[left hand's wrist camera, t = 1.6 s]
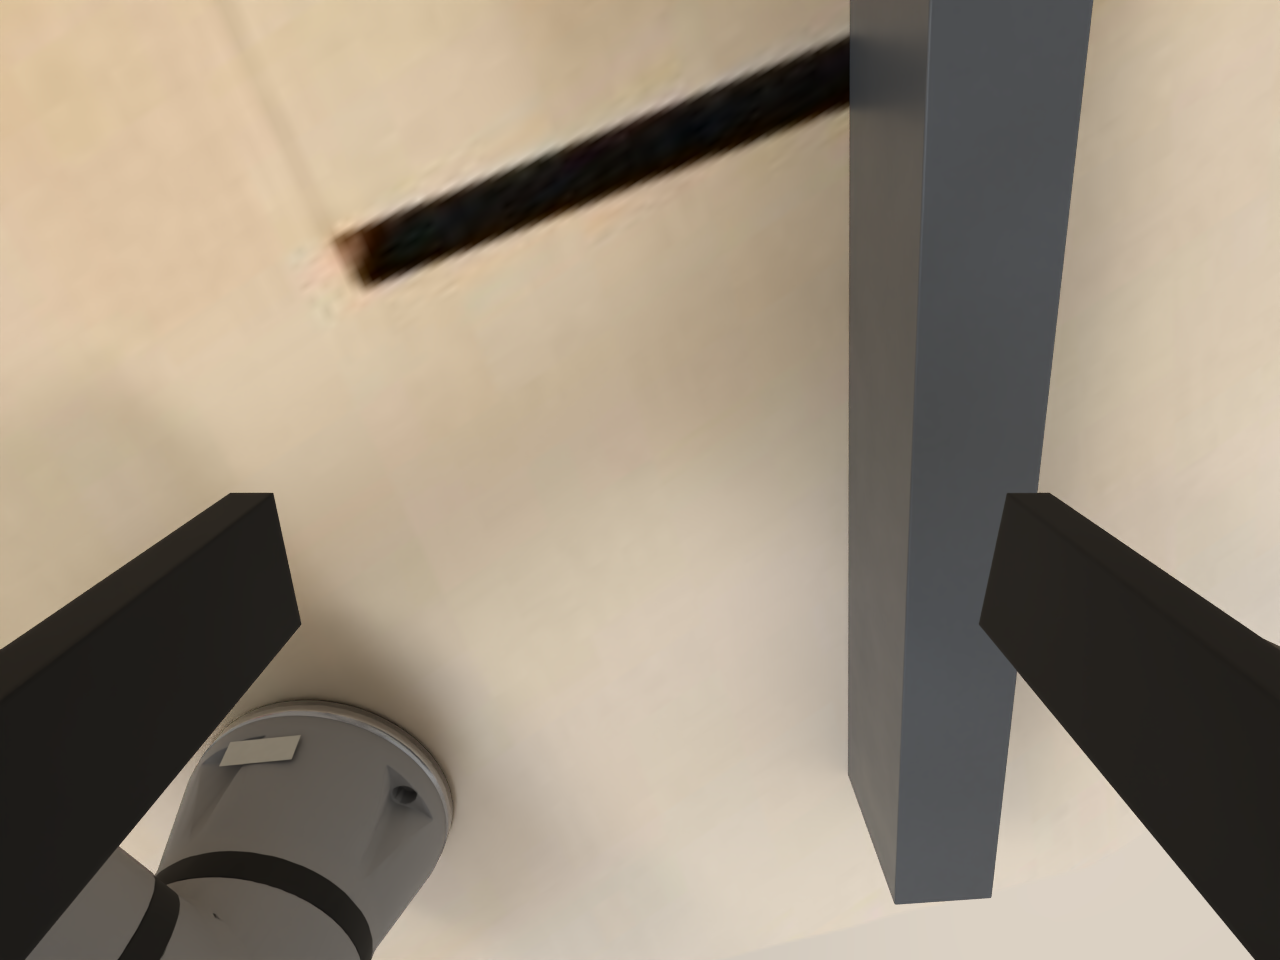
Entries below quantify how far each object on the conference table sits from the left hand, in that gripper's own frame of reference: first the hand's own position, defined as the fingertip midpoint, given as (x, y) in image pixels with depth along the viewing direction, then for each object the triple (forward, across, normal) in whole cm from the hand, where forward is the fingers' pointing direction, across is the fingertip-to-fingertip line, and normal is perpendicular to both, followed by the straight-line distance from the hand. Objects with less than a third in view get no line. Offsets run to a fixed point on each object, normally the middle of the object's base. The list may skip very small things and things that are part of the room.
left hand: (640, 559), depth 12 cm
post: (+21, -11, -8) cm, 25 cm away
